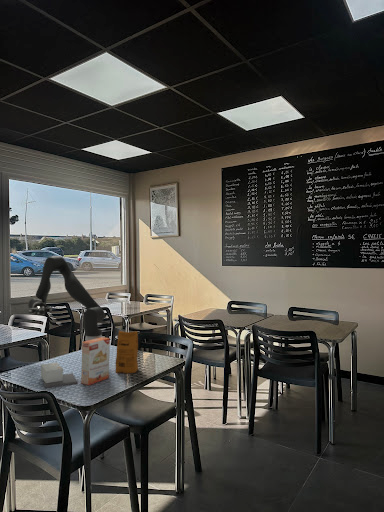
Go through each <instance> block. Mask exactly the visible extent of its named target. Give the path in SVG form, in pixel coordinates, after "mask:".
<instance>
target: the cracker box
mask: <svg viewBox="0 0 384 512" xmlns="http://www.w3.org/2000/svg"><path fill="white" fill-rule="evenodd" d="M110 339H111V338H109V337H103V336H102V337H101V338H97V339H93V340H88V341H86V340H85V341H81V371H80V372H81V378H80V379H81V380H80V381H81V384H84V385H85V386H91V385H93V384H96V383H99V382H101V381H104V380H107V379H109V378H110V353H111V350H110V347H111V345H110V344H111V343H110V342H111V341H110Z"/></svg>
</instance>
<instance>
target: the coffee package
mask: <svg viewBox="0 0 384 512" xmlns="http://www.w3.org/2000/svg"><path fill="white" fill-rule="evenodd" d="M138 335H139V334H138V331H136V330H135V331H129V332H128V331H123V330H122V331H121V330H119V331H118V335H117V344H116V357H115V373H117V374H119V373H123V374H135V373H136V372H137V371H138V370H139V362H138V354H139V353H138V352H139V338H138Z"/></svg>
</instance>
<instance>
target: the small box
mask: <svg viewBox="0 0 384 512" xmlns="http://www.w3.org/2000/svg"><path fill="white" fill-rule="evenodd" d="M63 374H64V369H63V367H62V366H61V365H60V364H59V363H58V362H49V363H41V364H40V378H41V380H42V379H43V380H44V381H45V383H52V382H58V381H63ZM43 380H42V381H43Z"/></svg>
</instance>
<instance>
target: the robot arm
mask: <svg viewBox="0 0 384 512" xmlns="http://www.w3.org/2000/svg"><path fill="white" fill-rule="evenodd" d="M57 271H58V272H59V273H60V274H61V276H62V277H63V280H64V288H65V290H66V292H67V293H68V295H69V296H70V297H71V298H72V299H73V300H75V301H76V302H77V303H79V304H80V305H82V306H84V307H85V309H86V310H85V311H84V314H83V329H84V332H85V341H88V340H93V339H97V338H101V337H103V331H102V329H101V328H99V326H98V324H99V323H101V322H102V321H104V320H105V319H106V318H105V316H106V313H105V311H104V309H103V308H102V306H101V305H99V304H98V302H97V301H95V299H94V298H93V297H92V296H91V295H90V293H89V292H88V291H87V289H86V288H85V287H84V285H83V284H82V283H81V281H80V280H79V279H78V278H77V276H76V275H75V274H74V272H73V271H72V270H71V268H70V266H69V264H68V262H67V261H66V259H65V258H64V257H62V256H60V255H55V256H47V257H46V258H45V261H44V265H43V269H42V274H41V278H40V282H39V285H38V287H37V290H36V293H35V297H36V298H34V297H33V298H31V299H30V300H29V302H28V305H27V307H28V312H29V314H35V315H37V316H43V315H44V314H47V313H50V312H51V313H52V312H53V307H51V306H49V307H48V306H47V301H48V296H49V293H50V291H51V288H52V285H51V284H52V283H51V276H52V274H53V273H54V272H57Z"/></svg>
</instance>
